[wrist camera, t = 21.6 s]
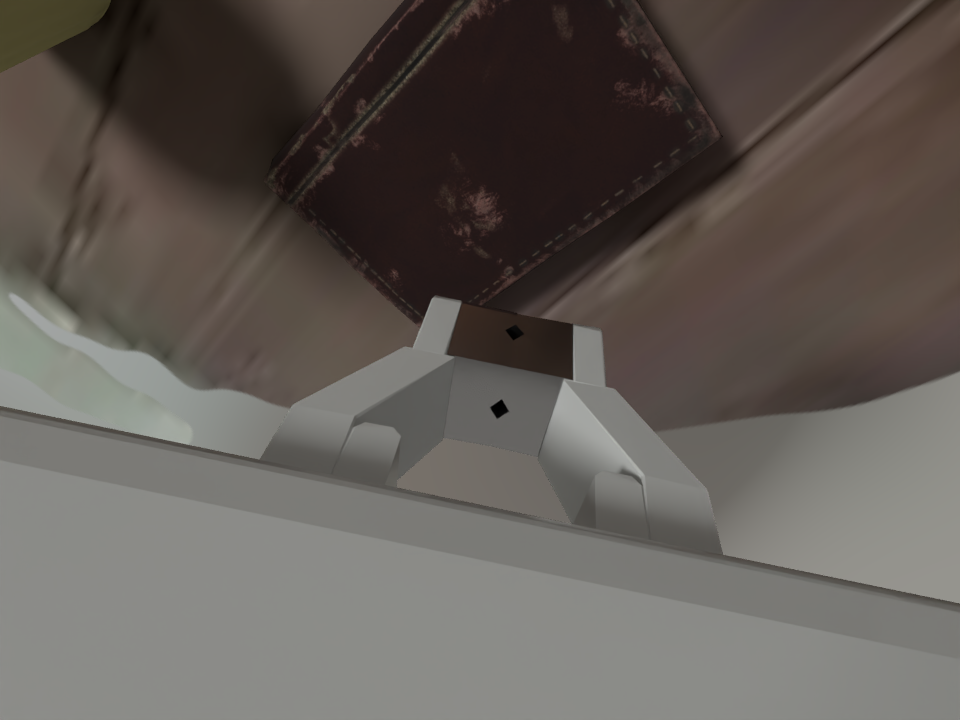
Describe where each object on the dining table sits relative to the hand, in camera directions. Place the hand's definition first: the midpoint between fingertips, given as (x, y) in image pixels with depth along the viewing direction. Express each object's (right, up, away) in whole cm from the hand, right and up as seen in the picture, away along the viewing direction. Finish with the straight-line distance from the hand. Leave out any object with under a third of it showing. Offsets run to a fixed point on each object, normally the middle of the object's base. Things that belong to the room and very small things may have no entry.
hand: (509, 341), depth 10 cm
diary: (0, +15, +29) cm, 33 cm away
